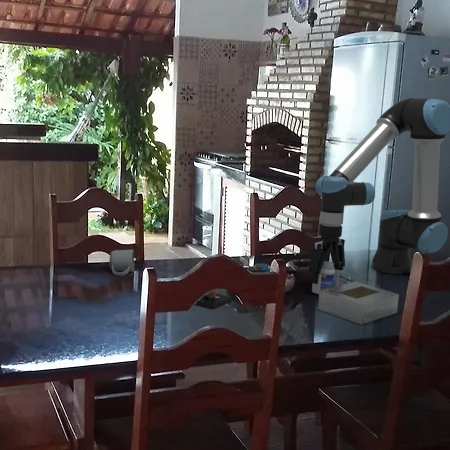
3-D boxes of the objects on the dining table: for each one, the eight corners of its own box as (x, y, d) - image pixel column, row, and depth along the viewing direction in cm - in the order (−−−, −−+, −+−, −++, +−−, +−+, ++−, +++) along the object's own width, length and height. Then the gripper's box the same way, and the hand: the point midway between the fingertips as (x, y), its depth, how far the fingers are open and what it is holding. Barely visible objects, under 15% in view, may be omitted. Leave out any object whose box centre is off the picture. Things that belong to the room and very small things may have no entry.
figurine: (231, 301, 198) (233, 264, 196) (213, 309, 190) (215, 270, 187) (205, 295, 203) (206, 258, 201) (185, 302, 195) (187, 264, 193)
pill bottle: (317, 292, 212) (319, 264, 210) (317, 288, 217) (319, 260, 215) (333, 294, 211) (336, 265, 209) (333, 289, 216) (335, 261, 214)
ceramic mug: (111, 267, 229) (111, 246, 227) (134, 268, 230) (134, 247, 228) (107, 276, 219) (108, 254, 217) (132, 277, 219) (132, 255, 218)
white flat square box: (354, 299, 207) (355, 281, 205) (396, 312, 195) (398, 294, 194) (318, 309, 195) (319, 290, 193) (361, 324, 183) (363, 304, 182)
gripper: (342, 219, 219) (336, 282, 224) (300, 225, 205) (295, 292, 209) (360, 223, 214) (354, 288, 218) (318, 229, 199) (312, 299, 204)
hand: (325, 290), depth 214 cm, fingers open, 9 cm apart
